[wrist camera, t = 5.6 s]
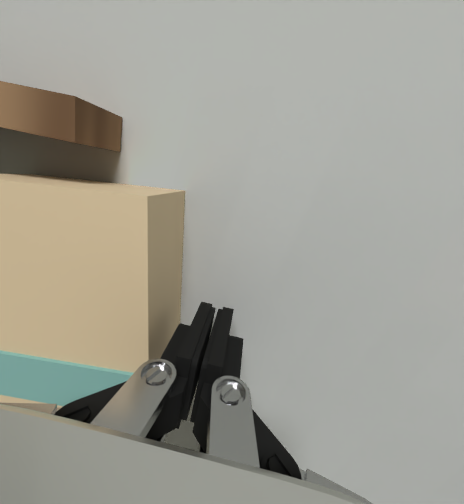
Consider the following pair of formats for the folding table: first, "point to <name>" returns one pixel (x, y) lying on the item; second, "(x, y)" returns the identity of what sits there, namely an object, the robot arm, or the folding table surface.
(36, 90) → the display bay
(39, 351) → the carton
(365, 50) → the folding table surface
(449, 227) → the folding table surface
